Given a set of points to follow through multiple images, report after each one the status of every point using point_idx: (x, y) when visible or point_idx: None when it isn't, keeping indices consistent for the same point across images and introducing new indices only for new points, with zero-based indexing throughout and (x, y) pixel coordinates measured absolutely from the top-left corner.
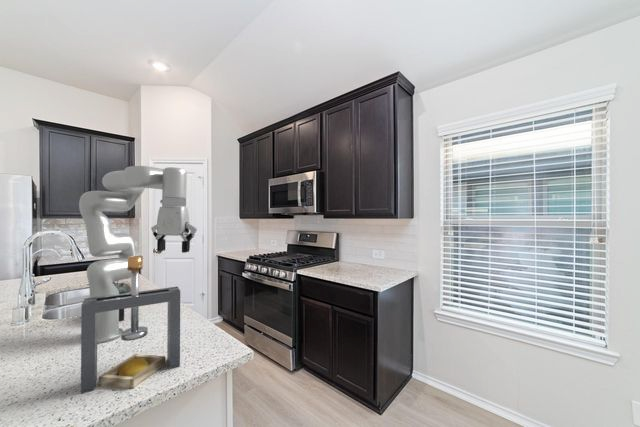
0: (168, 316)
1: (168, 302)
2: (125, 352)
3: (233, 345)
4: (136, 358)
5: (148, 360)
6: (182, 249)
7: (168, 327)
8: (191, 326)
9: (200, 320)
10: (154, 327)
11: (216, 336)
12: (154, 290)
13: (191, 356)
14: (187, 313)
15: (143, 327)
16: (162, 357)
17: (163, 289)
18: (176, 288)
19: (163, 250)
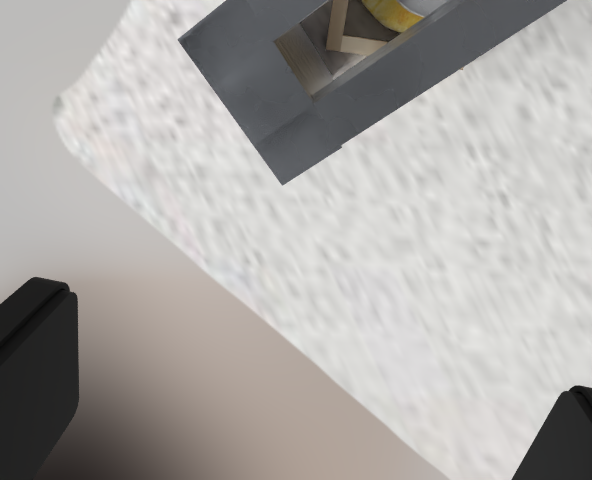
0: (310, 66)
1: (311, 82)
2: (528, 138)
3: (134, 187)
4: None
5: None
6: (21, 307)
7: (310, 58)
8: (367, 341)
9: (355, 388)
10: (511, 337)
11: (232, 259)
12: (412, 56)
13: None
14: (434, 447)
15: (422, 3)
16: (332, 38)
17: (349, 91)
18: (256, 123)
19: (525, 469)
